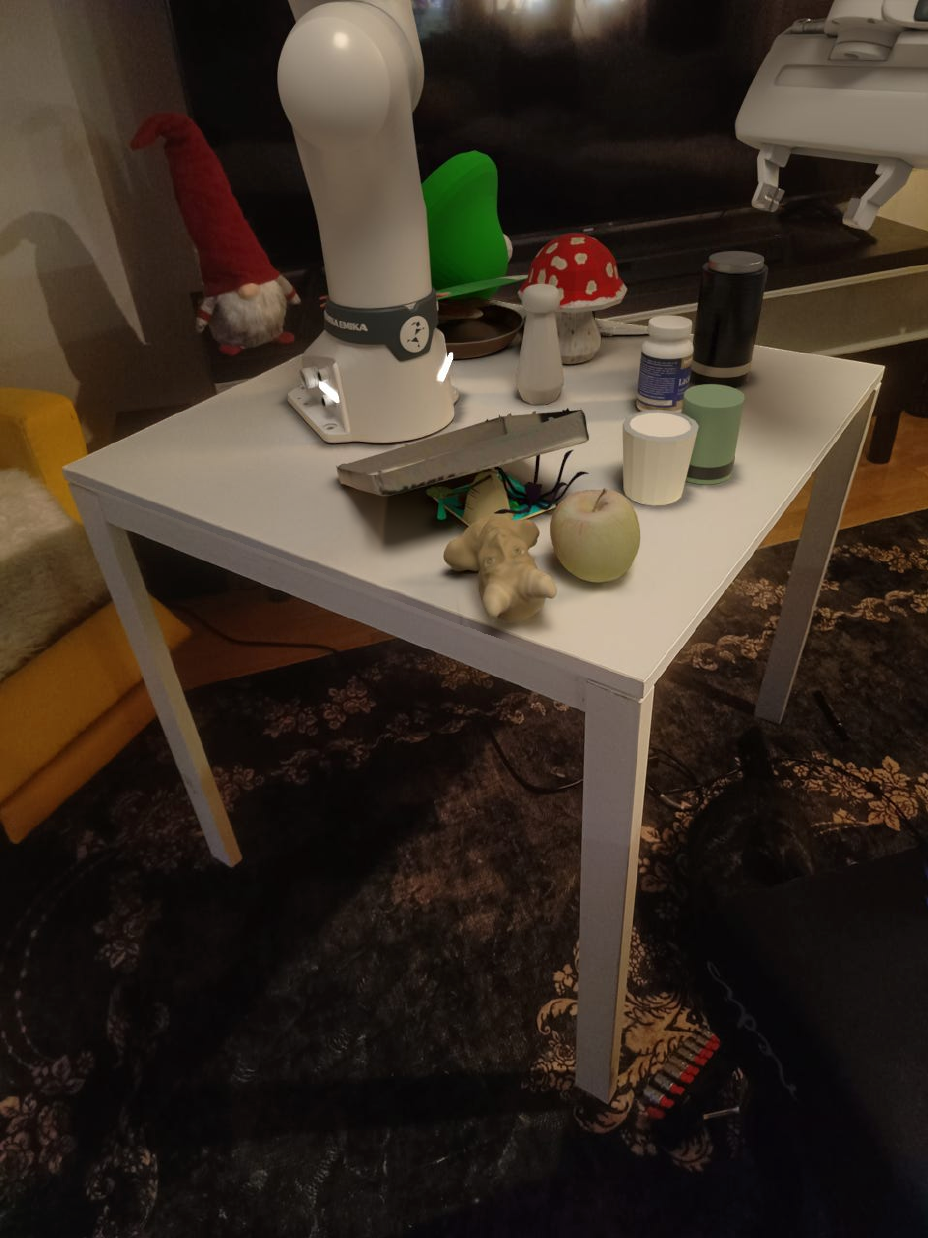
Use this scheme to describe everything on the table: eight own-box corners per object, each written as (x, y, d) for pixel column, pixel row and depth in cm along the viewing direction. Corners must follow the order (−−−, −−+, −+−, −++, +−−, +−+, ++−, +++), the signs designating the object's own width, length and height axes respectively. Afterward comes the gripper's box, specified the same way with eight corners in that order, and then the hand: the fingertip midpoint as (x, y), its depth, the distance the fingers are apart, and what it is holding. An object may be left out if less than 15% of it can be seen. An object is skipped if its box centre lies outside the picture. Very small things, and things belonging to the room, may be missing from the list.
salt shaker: (573, 396, 97) (578, 284, 89) (543, 412, 94) (545, 297, 86) (535, 385, 100) (536, 276, 92) (506, 400, 97) (504, 288, 89)
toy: (408, 285, 138) (468, 348, 138) (332, 296, 118) (403, 369, 118) (502, 149, 123) (570, 220, 123) (434, 134, 103) (515, 218, 103)
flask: (675, 377, 100) (690, 258, 91) (712, 362, 103) (729, 246, 95) (724, 393, 95) (744, 270, 87) (761, 377, 99) (783, 256, 90)
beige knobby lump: (441, 569, 69) (471, 657, 59) (436, 497, 65) (469, 578, 55) (532, 556, 70) (576, 640, 61) (534, 484, 66) (582, 561, 56)
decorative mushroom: (498, 364, 106) (496, 242, 96) (549, 332, 115) (551, 217, 105) (593, 382, 99) (601, 253, 90) (639, 347, 108) (650, 226, 99)
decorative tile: (378, 511, 64) (598, 441, 69) (367, 474, 63) (590, 405, 68) (341, 493, 83) (515, 439, 87) (332, 464, 82) (509, 410, 86)
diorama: (409, 507, 77) (404, 455, 74) (534, 463, 83) (535, 413, 80) (473, 560, 70) (471, 504, 66) (606, 507, 76) (610, 453, 72)
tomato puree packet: (428, 305, 99) (558, 276, 107) (427, 296, 98) (557, 266, 106) (378, 308, 111) (497, 281, 119) (376, 300, 111) (496, 273, 119)
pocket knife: (559, 332, 113) (559, 325, 114) (559, 338, 113) (559, 331, 115) (658, 330, 111) (656, 323, 113) (657, 336, 112) (655, 329, 113)
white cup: (674, 515, 74) (683, 446, 70) (605, 498, 77) (610, 431, 73) (699, 483, 79) (709, 416, 74) (633, 468, 82) (639, 403, 77)
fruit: (654, 563, 68) (664, 479, 63) (610, 606, 63) (618, 519, 58) (577, 536, 72) (581, 455, 67) (531, 575, 67) (531, 491, 62)
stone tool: (481, 305, 105) (371, 307, 107) (482, 328, 106) (373, 331, 109) (494, 290, 116) (395, 292, 119) (495, 311, 118) (396, 314, 120)
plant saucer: (492, 313, 123) (491, 293, 121) (545, 348, 110) (545, 326, 108) (383, 336, 118) (380, 315, 116) (426, 375, 105) (424, 352, 103)
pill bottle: (686, 419, 90) (697, 330, 84) (634, 417, 91) (642, 329, 85) (685, 398, 95) (696, 312, 88) (636, 397, 96) (644, 312, 90)
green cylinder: (661, 470, 81) (670, 395, 76) (697, 453, 84) (708, 378, 79) (707, 490, 77) (720, 413, 72) (743, 471, 80) (758, 395, 75)
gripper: (760, 3, 65) (692, 190, 70) (1004, -9, 50) (892, 227, 56) (806, 34, 68) (737, 209, 74) (1047, 31, 53) (937, 249, 59)
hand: (806, 217), depth 65 cm, fingers open, 8 cm apart
